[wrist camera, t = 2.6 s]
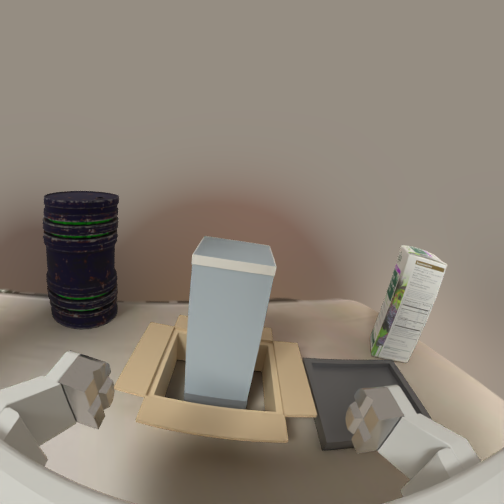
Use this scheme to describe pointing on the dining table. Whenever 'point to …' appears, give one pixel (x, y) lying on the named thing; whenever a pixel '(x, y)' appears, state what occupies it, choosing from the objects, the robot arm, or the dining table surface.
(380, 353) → the syrup box
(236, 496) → the dining table surface
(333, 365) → the tray
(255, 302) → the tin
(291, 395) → the carton
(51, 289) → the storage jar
